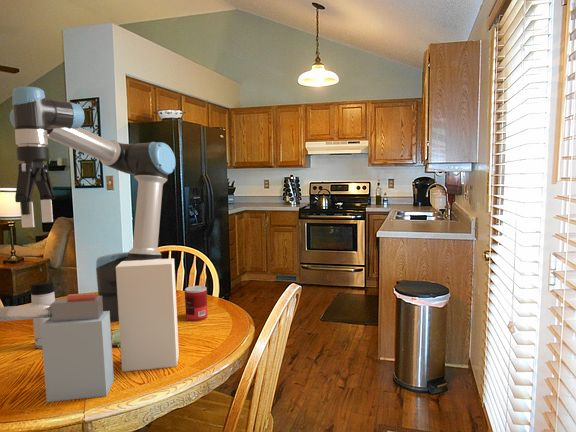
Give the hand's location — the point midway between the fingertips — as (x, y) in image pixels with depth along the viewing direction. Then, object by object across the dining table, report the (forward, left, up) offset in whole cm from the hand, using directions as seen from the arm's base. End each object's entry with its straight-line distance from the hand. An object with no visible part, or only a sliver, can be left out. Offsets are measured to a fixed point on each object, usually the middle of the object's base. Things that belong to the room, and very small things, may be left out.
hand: (38, 224), depth 120 cm
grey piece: (+21, +10, -21) cm, 31 cm away
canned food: (-29, +40, -39) cm, 63 cm away
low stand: (+21, +14, -39) cm, 46 cm away
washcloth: (-14, +23, -39) cm, 47 cm away
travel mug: (-13, -5, -39) cm, 41 cm away
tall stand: (+8, +29, -39) cm, 49 cm away
